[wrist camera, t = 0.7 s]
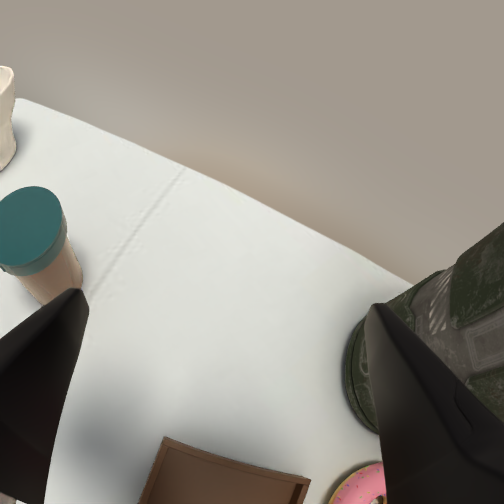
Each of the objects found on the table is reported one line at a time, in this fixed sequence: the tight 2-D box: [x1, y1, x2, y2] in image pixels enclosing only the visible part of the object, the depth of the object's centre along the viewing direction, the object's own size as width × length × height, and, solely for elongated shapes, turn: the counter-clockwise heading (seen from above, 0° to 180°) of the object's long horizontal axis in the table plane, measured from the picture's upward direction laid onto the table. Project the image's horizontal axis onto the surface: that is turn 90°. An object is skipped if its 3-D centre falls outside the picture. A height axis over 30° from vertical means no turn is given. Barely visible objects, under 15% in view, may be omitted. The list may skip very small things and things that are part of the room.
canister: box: [345, 223, 504, 434], centre depth 19 cm, size 16×16×28 cm
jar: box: [16, 235, 83, 305], centre depth 22 cm, size 6×6×10 cm
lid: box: [0, 186, 67, 276], centre depth 18 cm, size 7×7×2 cm
